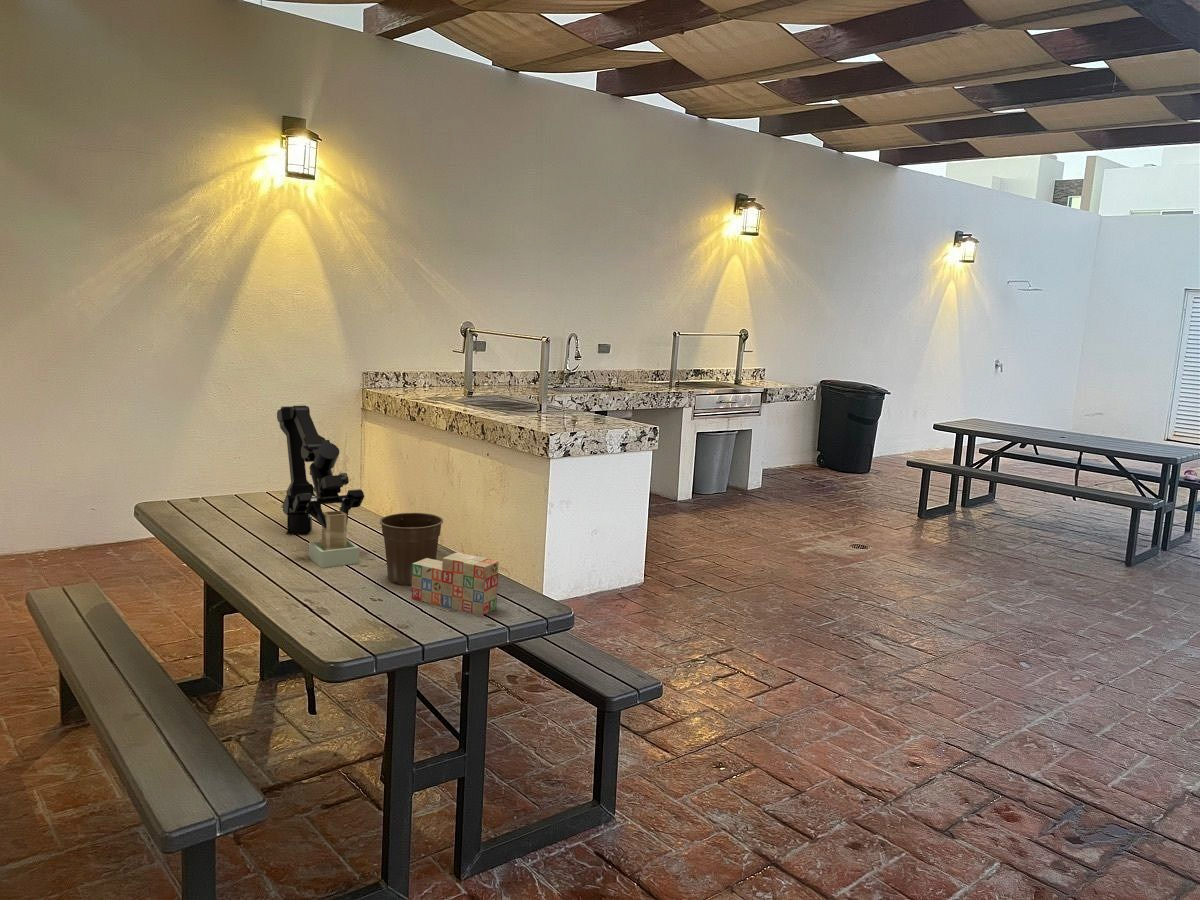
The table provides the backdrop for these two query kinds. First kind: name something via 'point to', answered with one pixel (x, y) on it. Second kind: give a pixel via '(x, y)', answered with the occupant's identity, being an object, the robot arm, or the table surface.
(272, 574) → the table surface
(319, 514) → the robot arm
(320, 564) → the sage crate
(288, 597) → the table surface
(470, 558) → the stack of blocks
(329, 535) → the pine crate
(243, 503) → the table surface
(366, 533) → the table surface
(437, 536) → the plant pot
